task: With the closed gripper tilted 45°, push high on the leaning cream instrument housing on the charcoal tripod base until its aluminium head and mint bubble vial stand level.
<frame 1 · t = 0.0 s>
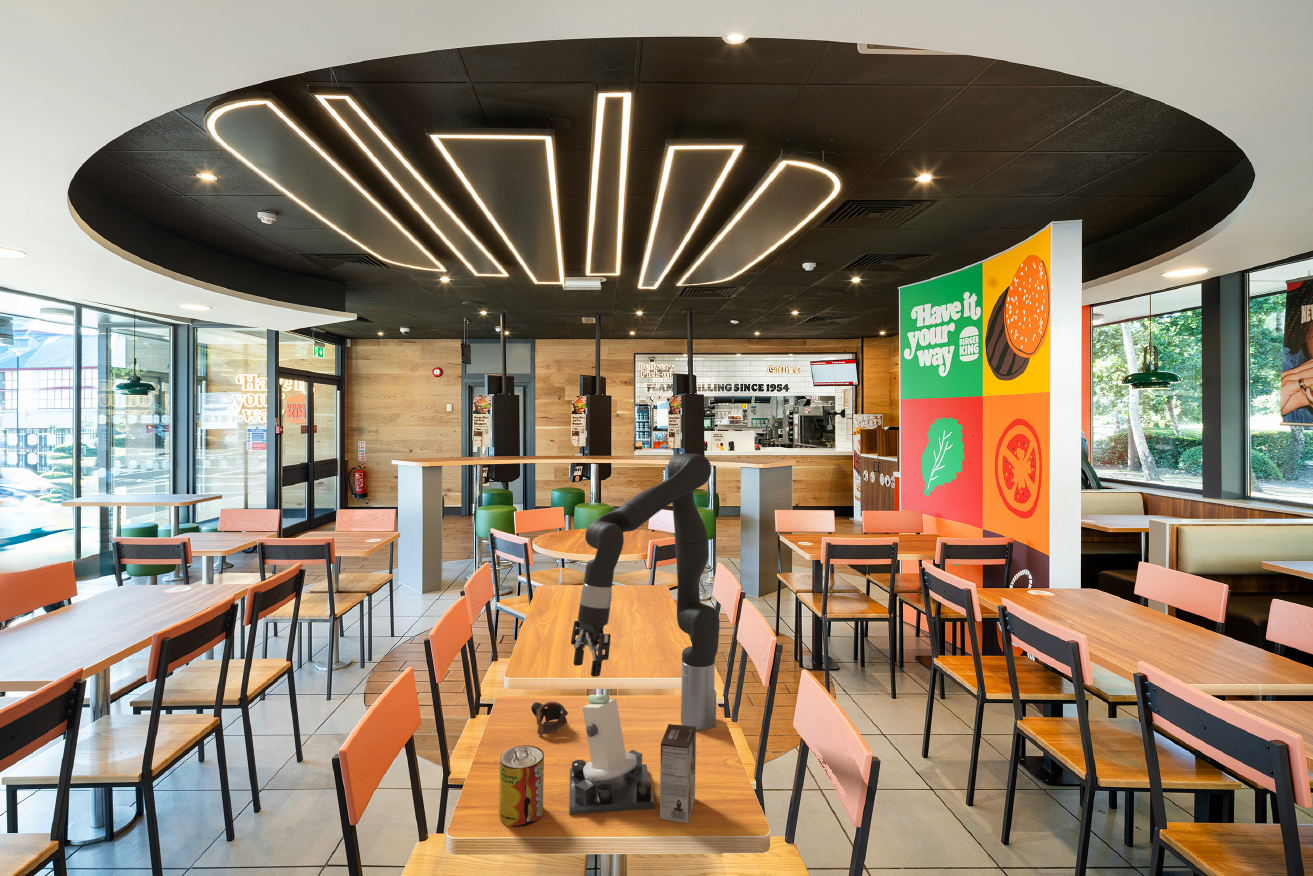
hand: (586, 670, 147), 22 cm above the table, tool pointing down, fingers open, 8 cm apart
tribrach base: (610, 791, 135), on the table
brown hollow shell: (548, 729, 164), on the table
coffee box: (677, 810, 129), on the table
beverage can: (521, 814, 127), on the table
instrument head: (604, 732, 137), point 12 cm above the table, hinge at 15.0°
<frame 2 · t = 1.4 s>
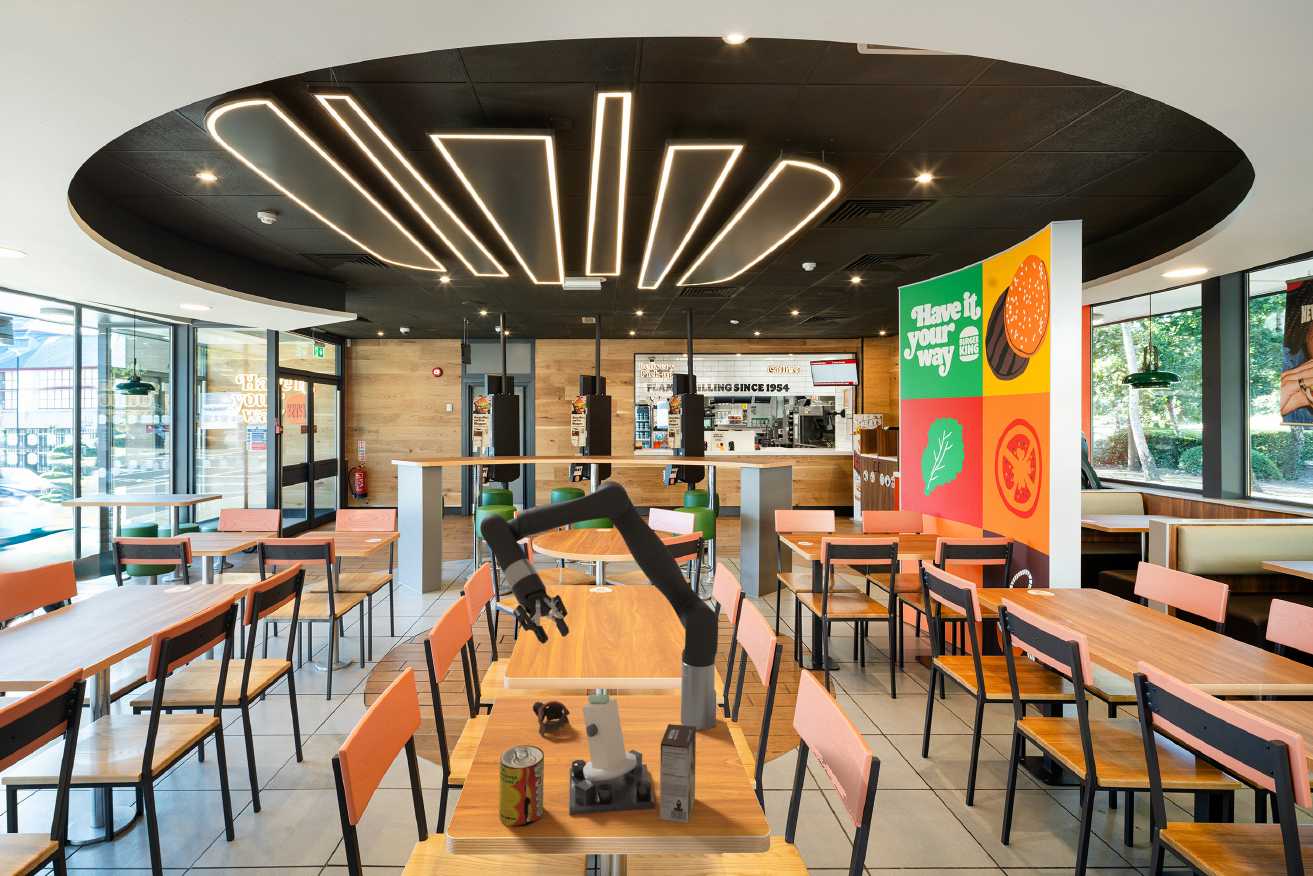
hand: (556, 638, 146), 30 cm above the table, tool tilted 45°, fingers open, 6 cm apart
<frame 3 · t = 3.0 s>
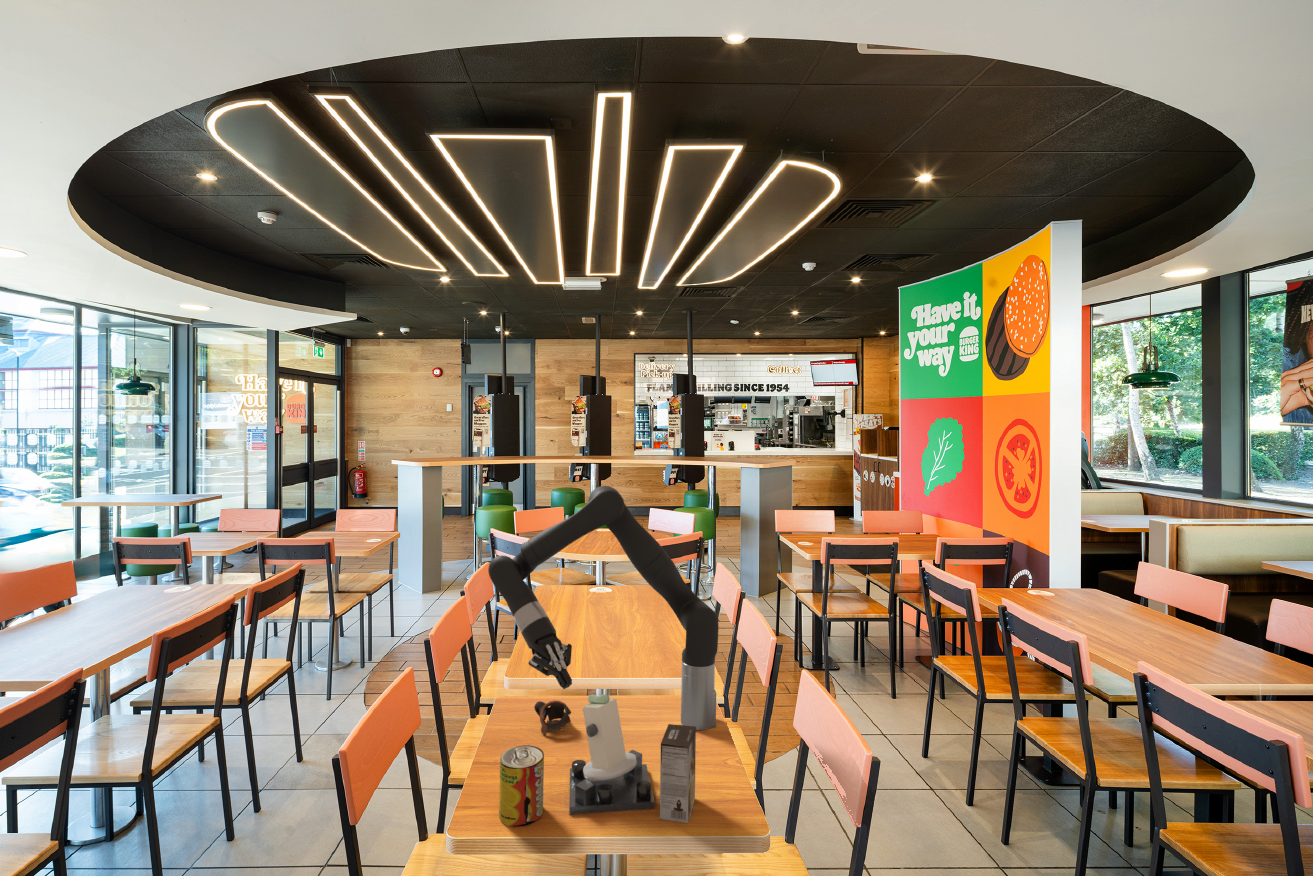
hand: (568, 686, 144), 20 cm above the table, tool tilted 45°, fingers closed
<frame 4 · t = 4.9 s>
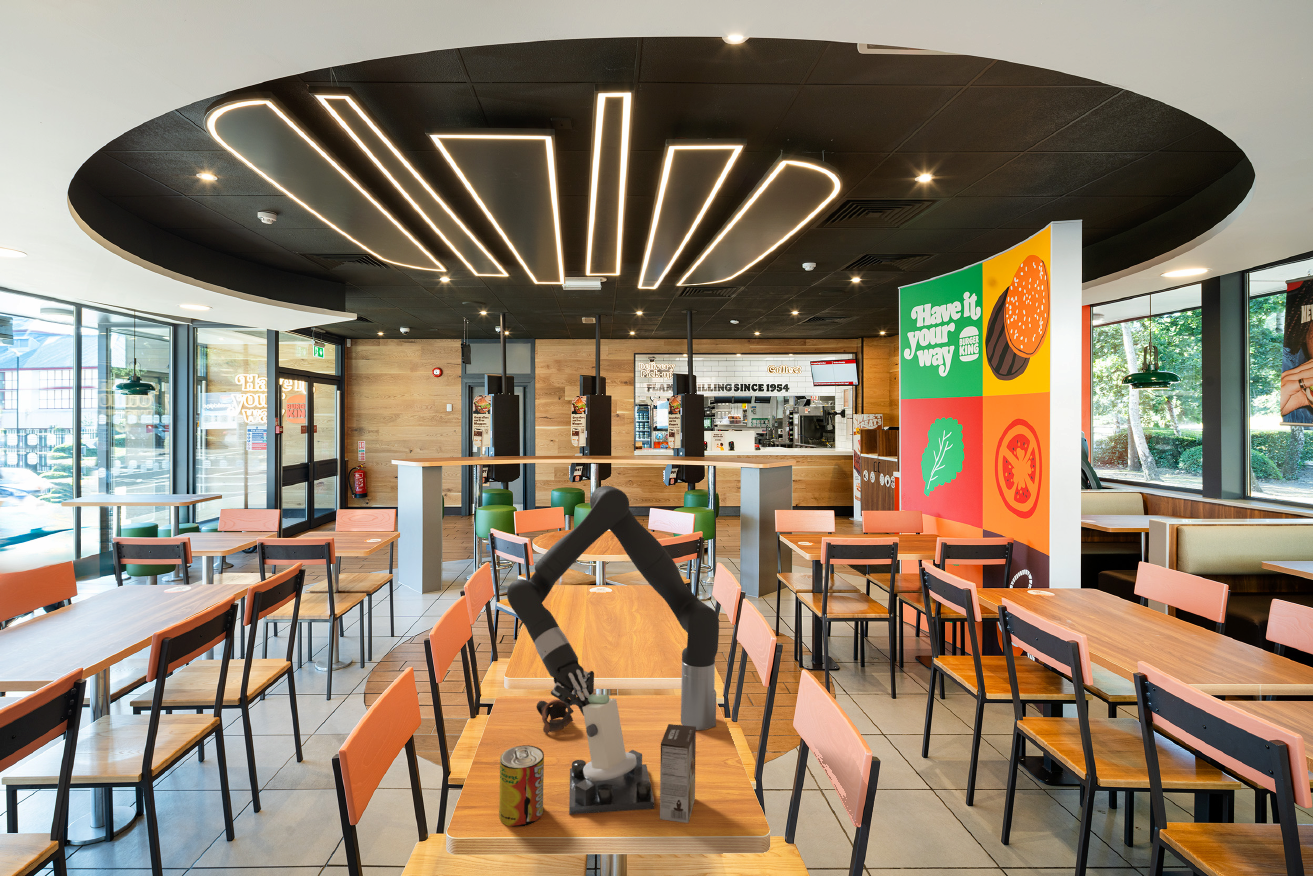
hand: (591, 716, 139), 15 cm above the table, tool tilted 45°, fingers closed
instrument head: (604, 732, 137), point 12 cm above the table, hinge at 15.0°, touching gripper
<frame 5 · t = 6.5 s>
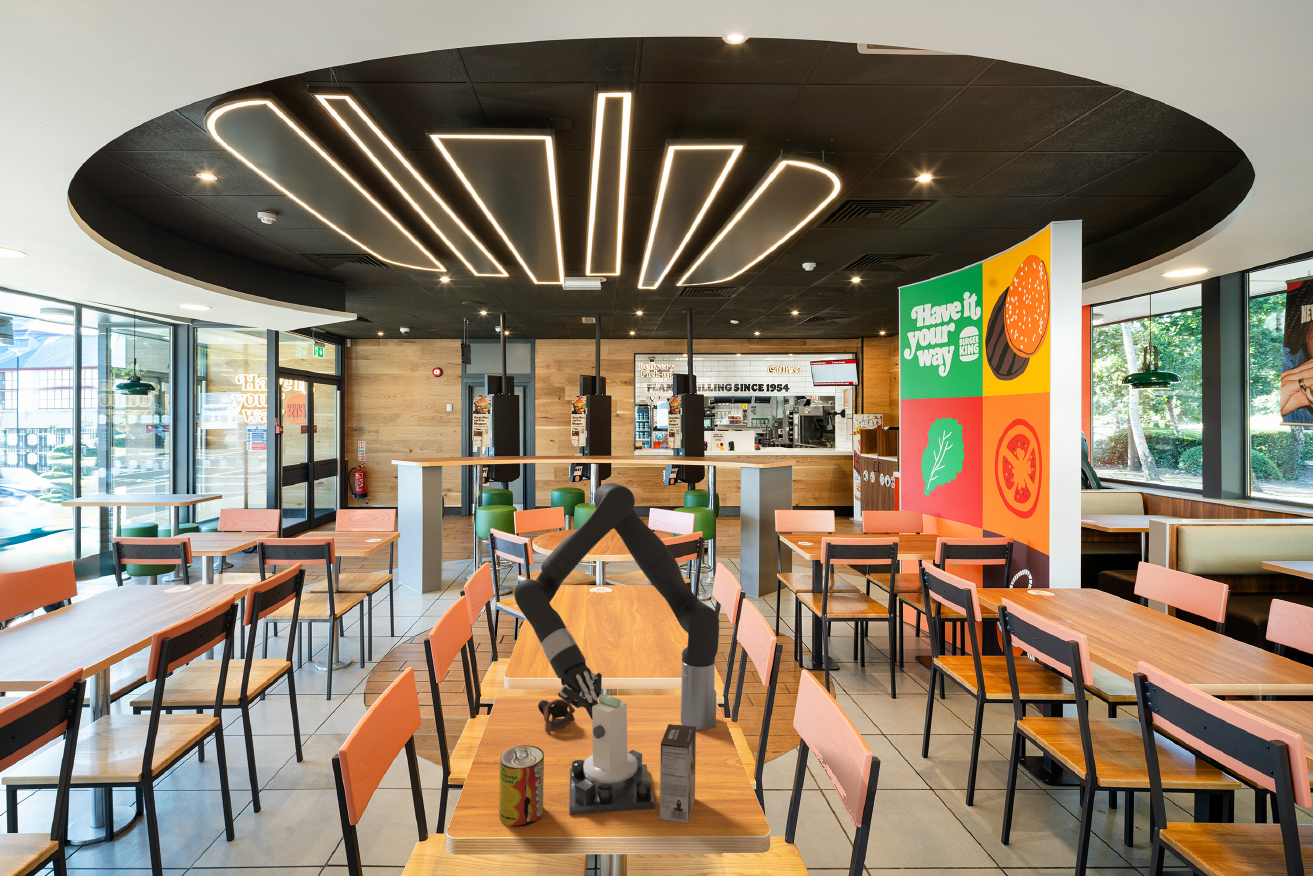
hand: (599, 719, 138), 15 cm above the table, tool tilted 45°, fingers closed
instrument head: (609, 733, 136), point 13 cm above the table, hinge at 2.4°, touching gripper
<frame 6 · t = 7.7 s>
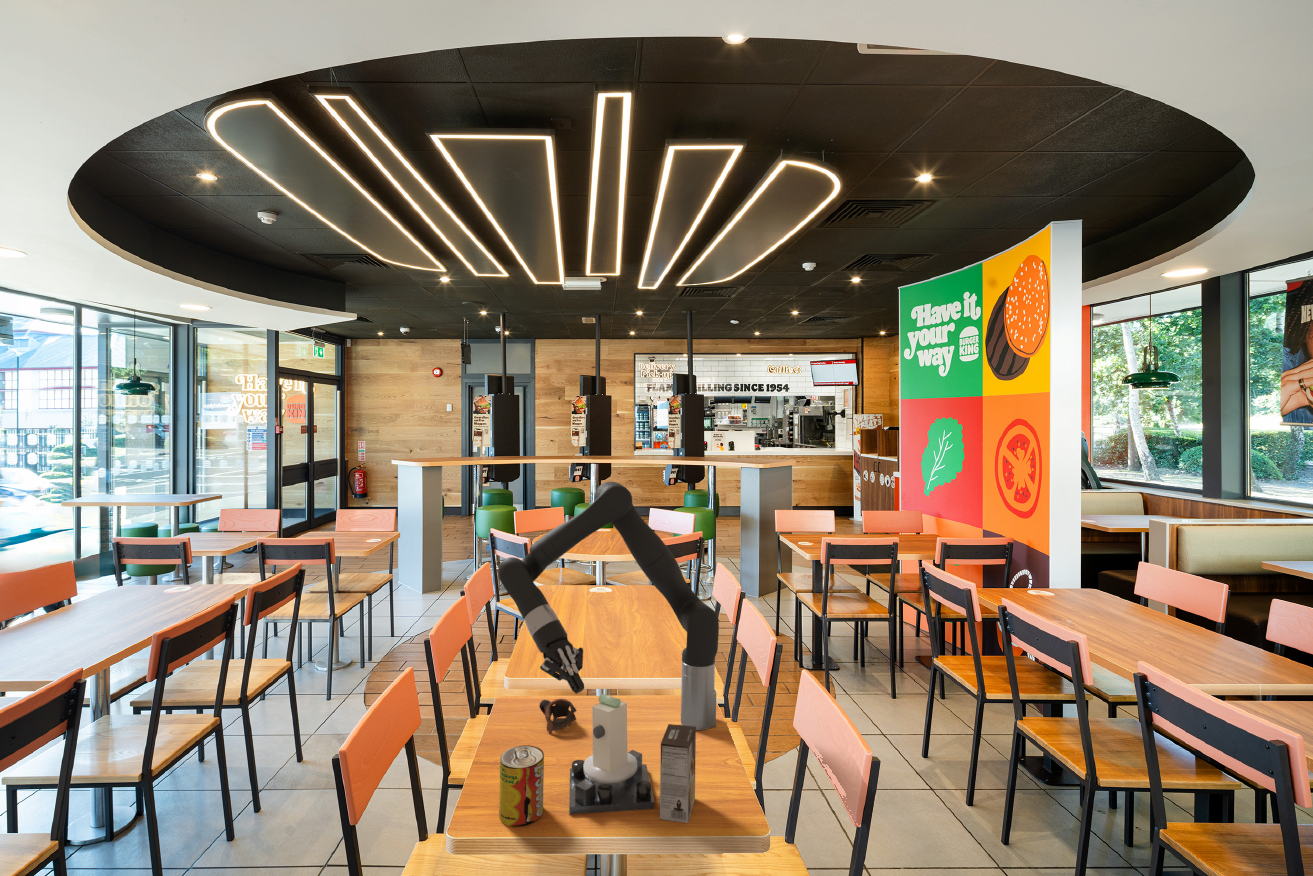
hand: (580, 691, 141), 20 cm above the table, tool tilted 45°, fingers closed
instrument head: (610, 733, 136), point 13 cm above the table, hinge at 2.3°
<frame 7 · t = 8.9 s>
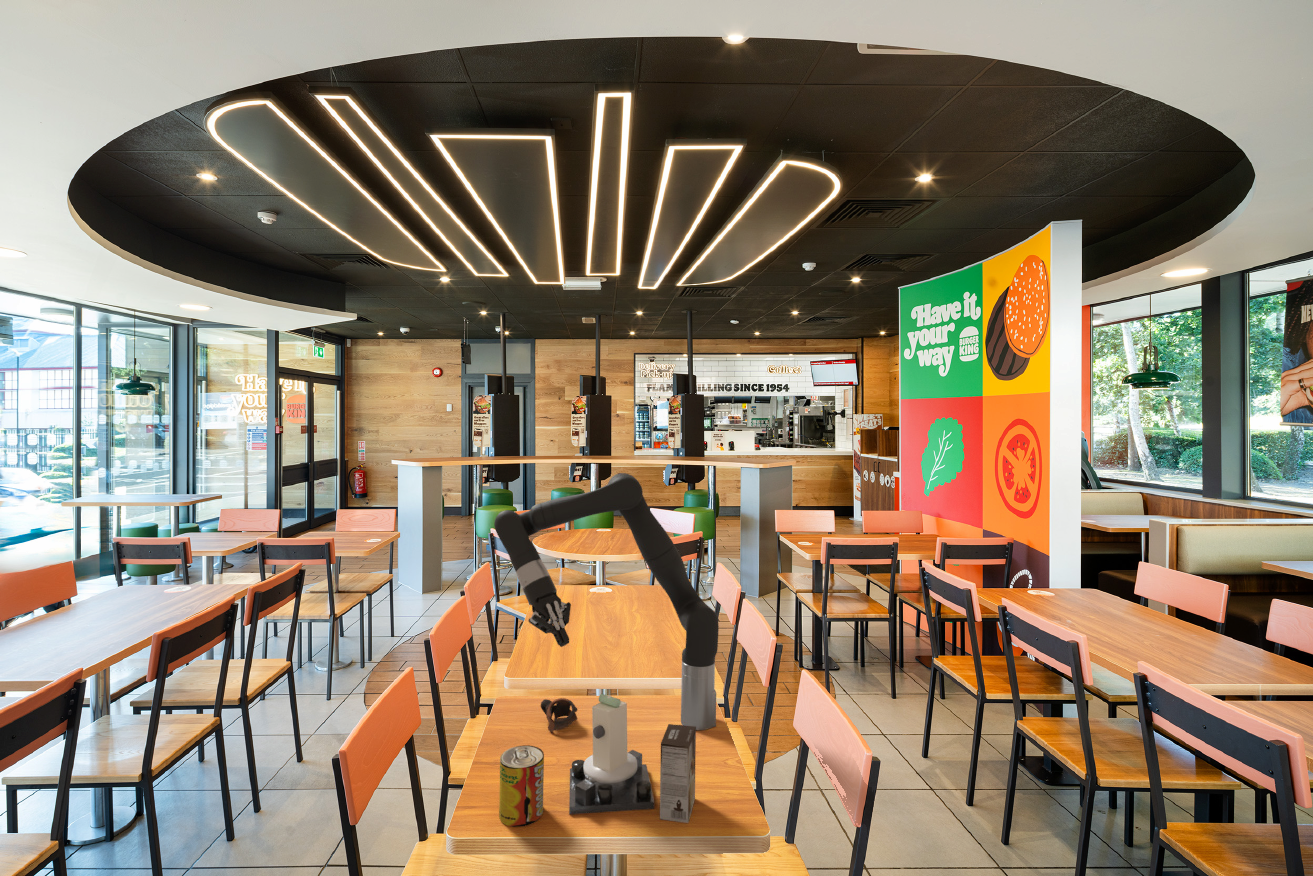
hand: (565, 644, 149), 28 cm above the table, tool tilted 35°, fingers closed
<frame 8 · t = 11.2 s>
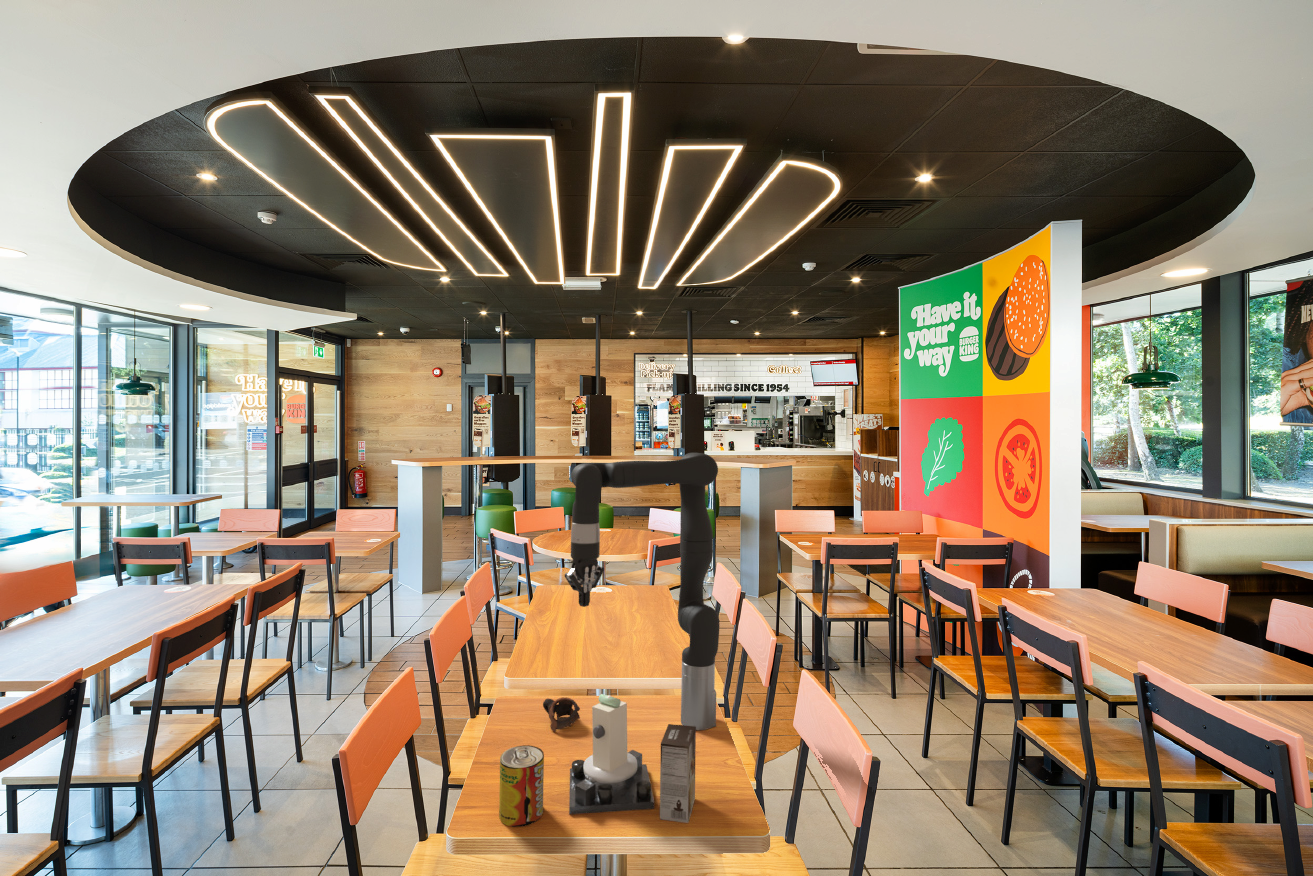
hand: (584, 605, 158), 35 cm above the table, tool pointing down, fingers closed
at the end: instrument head at +2° (first picture: +15°) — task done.
